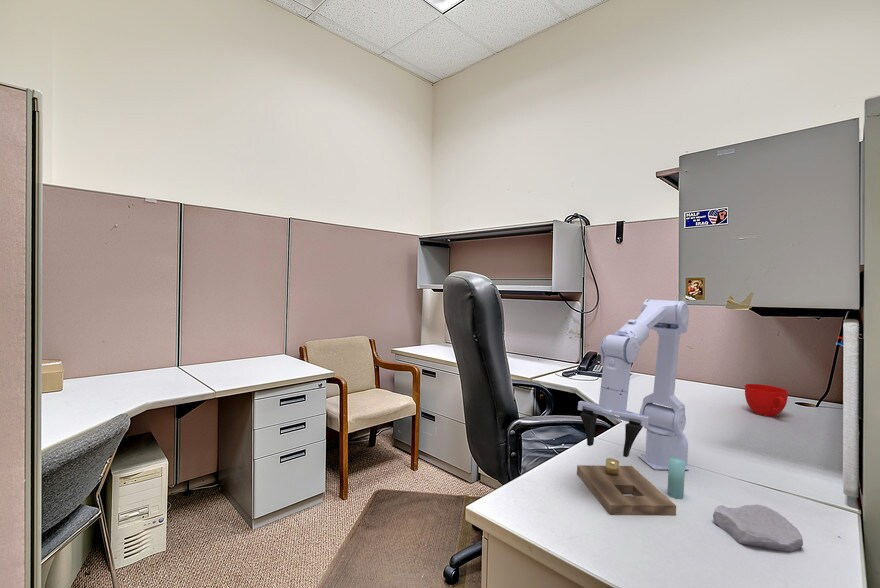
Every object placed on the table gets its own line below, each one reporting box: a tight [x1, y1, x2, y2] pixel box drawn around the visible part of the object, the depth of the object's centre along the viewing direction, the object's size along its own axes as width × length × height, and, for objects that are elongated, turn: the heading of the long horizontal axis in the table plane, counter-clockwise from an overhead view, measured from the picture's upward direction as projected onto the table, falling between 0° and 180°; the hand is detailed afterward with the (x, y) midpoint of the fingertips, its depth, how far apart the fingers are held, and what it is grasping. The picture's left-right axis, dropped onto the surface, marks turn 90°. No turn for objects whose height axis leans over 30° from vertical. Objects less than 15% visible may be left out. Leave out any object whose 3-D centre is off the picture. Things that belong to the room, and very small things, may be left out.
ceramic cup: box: [744, 383, 789, 418], centre depth 153 cm, size 13×17×10 cm
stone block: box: [712, 504, 804, 552], centre depth 78 cm, size 12×5×10 cm
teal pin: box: [666, 457, 686, 500], centre depth 92 cm, size 3×3×8 cm
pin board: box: [576, 457, 677, 516], centre depth 93 cm, size 14×18×5 cm
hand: (607, 450), depth 89 cm, fingers open, 7 cm apart
